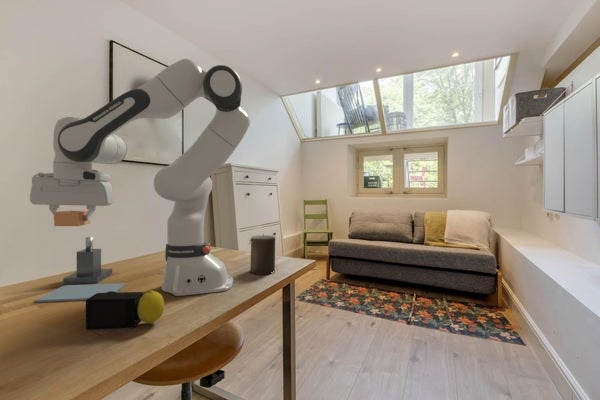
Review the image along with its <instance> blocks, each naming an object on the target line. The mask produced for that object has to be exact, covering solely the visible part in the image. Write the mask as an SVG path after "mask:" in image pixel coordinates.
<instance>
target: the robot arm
mask: <svg viewBox="0 0 600 400" xmlns="http://www.w3.org/2000/svg"><path fill="white" fill-rule="evenodd" d="M242 93H243V83H242V80H241V76H239V73H238V72H237V71H236V70H234V69H233V68H232V67H230V66H227V65H225V64H224V65H223V64H220V65H219V64H218V65H214V66H212V67H211V68H209V69H208V71H205V70H203V68H202V67H200V65H199V64H197V62H195V61H194V60H191V59H189V58H182V59H180V60H178V61H175V62H174V63H172V64H170V65H168V66H167V67H166V68H165V69H163V70H161V71H159V73H158V74H156V75H155V76H154V77H152V78H151V79H150V80H148V81H147V82H145V83H144V84H142V85H140V86H138V87H135V88H133V89H131V90H127V91H126V92H124V93H122V94H121V95H120V94H119V96H117V97H115V98H114V99H113V100H111V101H110V102H108V103H107V104H105V105H104V106H102V107H100V108H99V109H97V110H96V111H94V112H92V113H91V114H90V115H88V116H86V117H85V118H81V117H74V116H73V117H69V116H68V117H63V118H62V117H61V118H60V119H58V120H57V121H56V123H55V125H54V130H53V140H52V141H53V142H52V146H53V147H52V148H53V151H54V158H53V161H52V167H53V168H52V172H48V173H45V172H38V173H37V174H35V175H33V176H32V177H31V188H30V195H29V201H30V203H31V204H32V205H35V206H37V205H38V206H39V205H40V206H41V205H44V206H48V209H49V210H50V212H51V213H52V215H53V216H54V212H60V211H59V210H58V209H60V206H83V207H84V206H86V210H87V211H88V212H87V213H86V215H83V221H90V222H91V221H92V215H93V214H94V212H95V211H96V207H97V206H98V207H100V206H101V207H106V206H107V207H108V206H111V205H112V204H113V203H114V192H113V191H114V190H113V186H112V184H111V183H110V181H111V175H110V174H108V173H105V172H101V171H99V170H95V169H93V164H103V165H116V164H119V163H121V162H122V161H123V160H124V159H125V158H126V156H127V152H128V151H127V150H128V147H127V144H126V142H125V140H124V139H123V138H122V137H120V136H119V135H117V134H115V133H116V132H118V131H119V130H120V129H122V128H124V126H126V125H127V124H129V123H132V122H133V121H135V120H139V119H140V120H141V119H152V118H153V119H161V120H164V119H170V118H172V117H174V116H176V115H177V114H179V113H180V112H182V111H183V110H184V109H185V108H187V107H188V106H189V105H191V103H192V102H194V101H195V100H197V99H198V98H204V99H206V100H207V101H209V102H210V103H211V104H213V105H214V106H215V108H216V111H215V114H214V115H213V117H212V119H211V120H210V122H209V123H208V124H207V126H206V127H205V128H204V130H203V131H202V132H201V133H200V135H199V136H198V137H197V139H196V140H195V141H194V143H193V144H192V145H191V146H190V147H189V148H188V149H187V150H186V151H185V152H183V153H182V154H181V155H180V156H179V157H178V158H177V159H175V160H174V161H173V162H171V163H170V164H169V165H167V166H165V167H162V168H161V169H159V170H158V172H157V171H156V174H155V176H154V178H153V188H154V190H155V191H154V192H156V193H157V194H158V196H159V197H161V198H163V199H165V200H167V201H170V202H174V205H173V208H172V212H171V214H170V215H169V216H168V219H167V228H166V229H167V234H166V235H167V237H166V238H167V243H166V244H165V251H164V254H165V255H164V256H165V257H164V258H165V262H166V263H165V273H164V277H163V281H162V284H161V290H162V291H163V292H166V293H170V294H172V295H174V296H175V297H182V296H190V295H199V294H207V293H208V294H209V293H217V292H218V293H219V292H225V291H226V292H227V291H228V290H230V289H231V288H232V287H233V286H234V278H233V277H232V276H231V275H229V274H228V272H227V267H226V264H225V263H224V262H223V261H222V260H220V259H219V258H217V257H216V256H215V255H213V254H211V253H210V252H211V245H210V244H211V243H207V242H205V239H204V238H205V236H204V235H205V230H204V229H205V214H206V210H207V207H208V206H207V205H208V202H209V196H210V194H211V192H212V191H213V181H212V178H211V177H210V176H211V175H213V174H214V173H215V172H217V171H218V170H219V169H221V168H222V167H223V166H224V164H225V163H226V162H227V161H228V160H229V158H230V157H231V156H232V155H233V153H234V152H235V150H236V149H237V148H238V146H239V145H240V143H241V142H242V140H243V139H244V137H245V135H246V133H247V132H248V129H249V127H250V124H251V119H250V117H249V114H248V113H247V112H246V111H245V110H244V109H243V108H242V107H241V102H242V100H241V99H242Z"/></svg>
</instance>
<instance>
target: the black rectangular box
mask: <svg viewBox="0 0 600 400" xmlns="http://www.w3.org/2000/svg"><path fill="white" fill-rule="evenodd" d="M143 295H144V292H143V291H125V292H123V291H121V292H120V291H118V292H114V291H109V292H107V293H96V294H95V295H93V296H91V297H90V298H88V299H87V300H85V330H86V331H88V330H89V331H90V330H91V331H92V330H94V331H96V330H115V329H116V330H117V329H118V330H119V329H135V328H136V327H137V326H138V325H139V324H140V323H141V322H143V321H142V320H141V319H140V318H139V316H138V311H137V308H138V303H139V300H140V298H141V297H142V296H143Z"/></svg>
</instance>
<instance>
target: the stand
mask: <svg viewBox="0 0 600 400" xmlns="http://www.w3.org/2000/svg"><path fill="white" fill-rule="evenodd" d="M112 275H113V268H102V248H94V236H87V237H85V248H84V249H81V250H79V251H76V272H74V273H72V274H70V275H67V276H65V277H63V278H62V285H88V284H100V282H101V281H103V280H105V279H107V278H108V277H110V276H112Z"/></svg>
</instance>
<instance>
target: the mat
mask: <svg viewBox="0 0 600 400" xmlns="http://www.w3.org/2000/svg"><path fill="white" fill-rule="evenodd" d="M126 286H127V283H126V282H124V283H123V282H121V283H88V284H63V285H61V286H60V287H58V288H56V289H55V290H53V291H50V292H49V293H46V294H44V295H43V296H42V295H41V297H39V298H37V299H35V300H34V303H53V302H54V303H55V302H56V303H57V302H73V301H74V302H75V301H76V302H78V301H79V302H80V301H86V300H87V299H88V298H90V297H91V296H93V295H95V294H96V293H107V292H109V291H114V292H120V290H122V289H123V288H125V287H126Z"/></svg>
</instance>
